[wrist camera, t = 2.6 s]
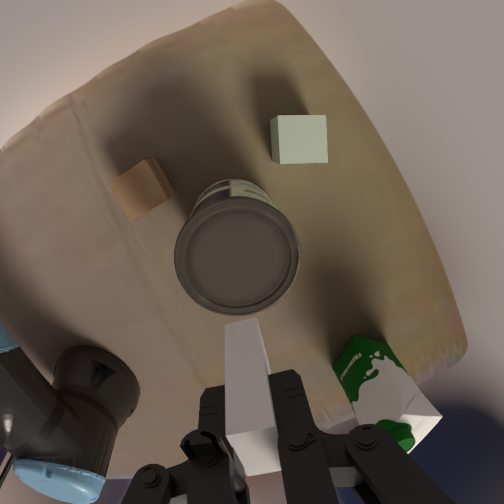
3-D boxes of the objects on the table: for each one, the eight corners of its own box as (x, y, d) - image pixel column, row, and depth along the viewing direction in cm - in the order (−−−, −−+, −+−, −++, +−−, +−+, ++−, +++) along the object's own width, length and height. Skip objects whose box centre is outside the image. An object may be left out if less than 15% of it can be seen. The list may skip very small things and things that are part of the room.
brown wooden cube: (142, 212, 38) (130, 222, 33) (121, 178, 36) (107, 184, 32) (175, 192, 37) (168, 198, 33) (155, 156, 36) (144, 158, 31)
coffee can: (195, 262, 40) (181, 319, 27) (189, 181, 37) (167, 200, 24) (276, 258, 41) (299, 313, 28) (275, 177, 38) (302, 194, 24)
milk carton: (352, 327, 45) (410, 422, 27) (394, 340, 47) (456, 423, 28) (324, 371, 48) (363, 470, 29) (367, 380, 49) (413, 468, 31)
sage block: (272, 161, 37) (280, 164, 31) (269, 120, 35) (277, 115, 30) (313, 159, 37) (327, 162, 32) (311, 119, 36) (325, 115, 30)
